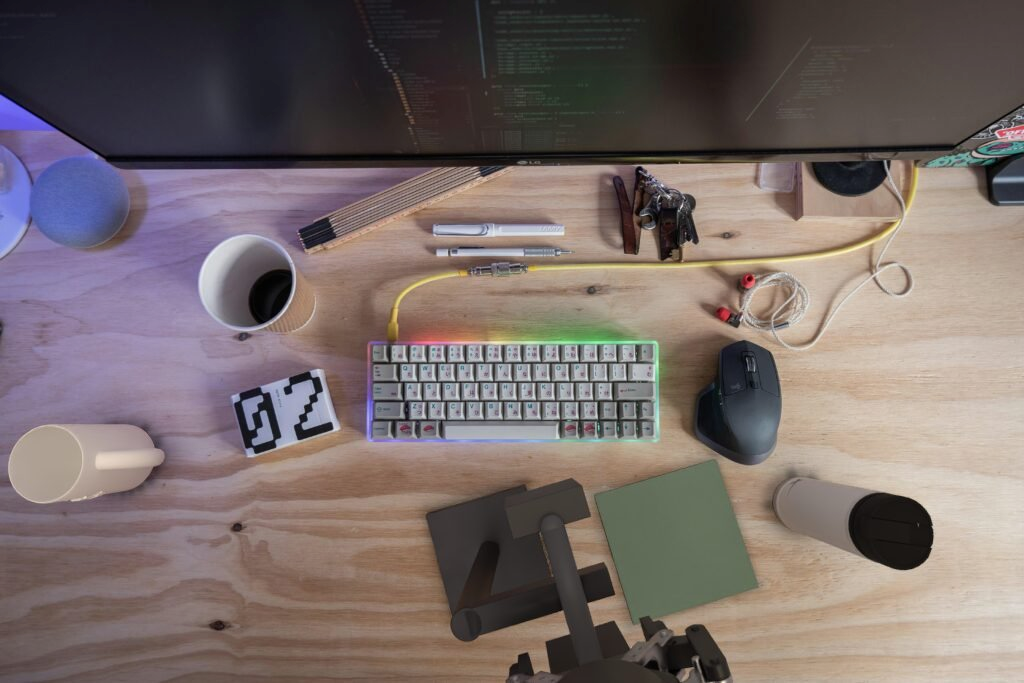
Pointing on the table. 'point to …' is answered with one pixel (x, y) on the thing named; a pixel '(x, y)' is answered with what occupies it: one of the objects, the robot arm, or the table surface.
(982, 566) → the table surface
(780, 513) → the travel mug
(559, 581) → the square-ended dumbbell
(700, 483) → the desk mat
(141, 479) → the mug
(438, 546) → the stand
